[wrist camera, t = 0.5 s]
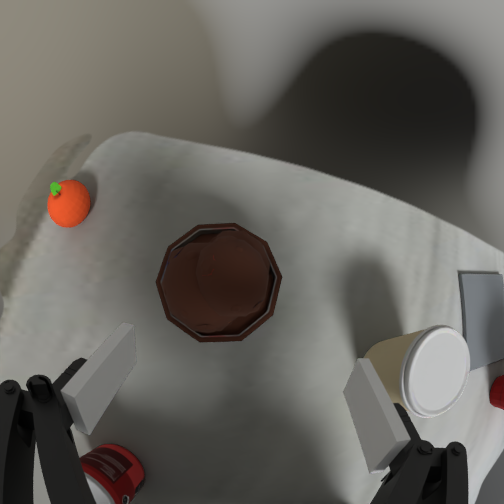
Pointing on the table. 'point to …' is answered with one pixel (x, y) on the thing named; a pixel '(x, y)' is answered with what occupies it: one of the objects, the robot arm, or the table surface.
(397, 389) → the coffee cup
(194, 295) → the ice cream bowl
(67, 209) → the clementine
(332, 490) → the table surface
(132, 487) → the canned food
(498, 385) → the plastic cup
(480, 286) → the mat
